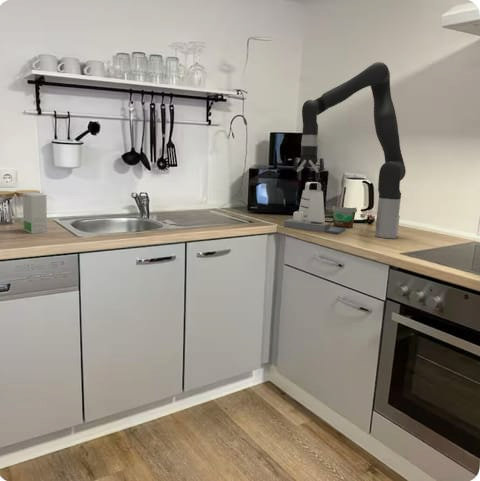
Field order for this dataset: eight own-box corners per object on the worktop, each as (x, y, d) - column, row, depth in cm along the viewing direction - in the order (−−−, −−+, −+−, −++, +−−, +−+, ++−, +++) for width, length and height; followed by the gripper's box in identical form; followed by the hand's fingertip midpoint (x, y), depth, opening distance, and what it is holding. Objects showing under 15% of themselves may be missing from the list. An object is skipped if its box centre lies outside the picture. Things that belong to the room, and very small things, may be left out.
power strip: (329, 229, 215) (330, 222, 214) (324, 232, 207) (324, 224, 206) (290, 224, 224) (291, 217, 223) (283, 226, 216) (284, 220, 215)
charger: (303, 226, 218) (304, 211, 217) (300, 227, 215) (301, 212, 213) (295, 225, 220) (296, 210, 219) (292, 226, 217) (293, 211, 215)
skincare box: (23, 230, 185) (21, 192, 182) (39, 228, 190) (37, 192, 187) (32, 234, 180) (30, 194, 176) (48, 232, 184) (46, 194, 181)
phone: (345, 230, 213) (345, 228, 213) (338, 234, 203) (338, 232, 202) (332, 228, 216) (333, 226, 216) (325, 232, 205) (325, 230, 205)
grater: (297, 219, 241) (299, 181, 236) (313, 218, 245) (316, 181, 241) (307, 222, 231) (310, 183, 227) (324, 221, 236) (327, 183, 232)
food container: (327, 226, 222) (329, 206, 220) (331, 224, 227) (332, 205, 225) (352, 229, 216) (354, 208, 214) (355, 227, 222) (357, 207, 220)
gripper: (326, 145, 209) (324, 180, 213) (297, 145, 216) (296, 179, 219) (322, 145, 203) (320, 181, 206) (292, 144, 209) (290, 180, 212)
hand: (307, 180), depth 213 cm, fingers open, 8 cm apart
